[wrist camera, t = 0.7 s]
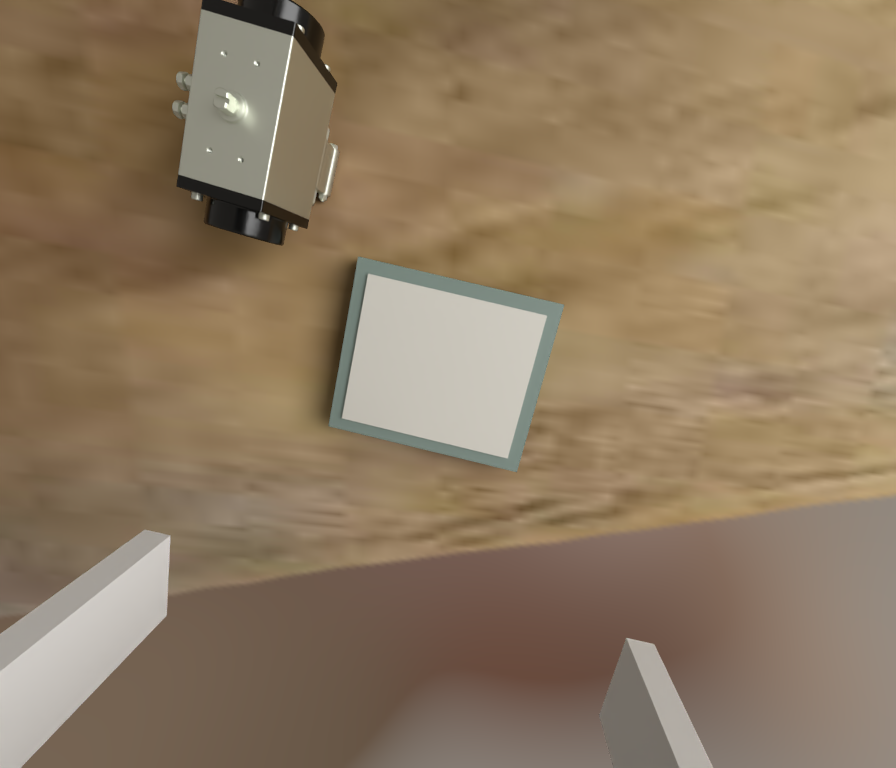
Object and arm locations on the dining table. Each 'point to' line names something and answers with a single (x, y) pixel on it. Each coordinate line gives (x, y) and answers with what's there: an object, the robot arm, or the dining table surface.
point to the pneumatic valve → (257, 118)
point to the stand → (442, 363)
